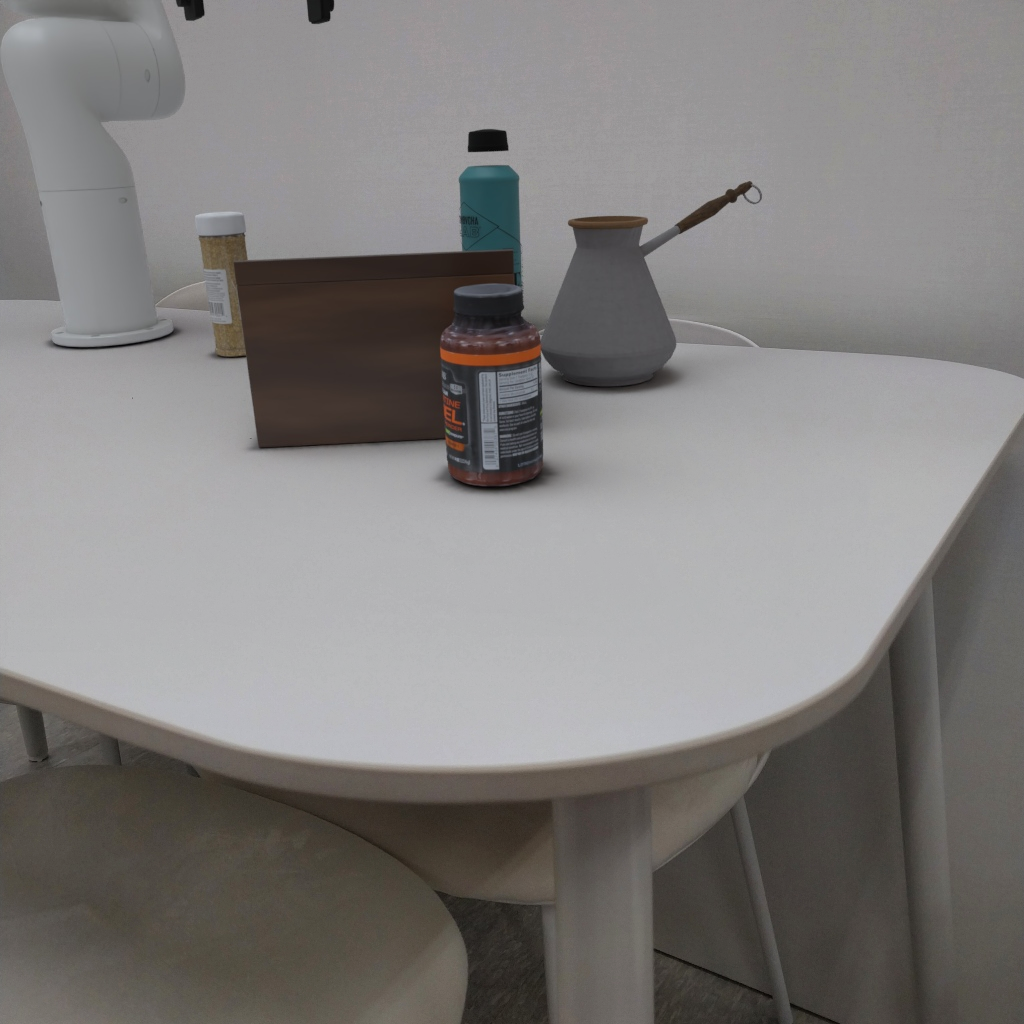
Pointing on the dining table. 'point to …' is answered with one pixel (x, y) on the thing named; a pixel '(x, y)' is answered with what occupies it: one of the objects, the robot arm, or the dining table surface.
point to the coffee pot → (615, 301)
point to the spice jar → (223, 276)
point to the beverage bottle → (490, 201)
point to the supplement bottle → (492, 388)
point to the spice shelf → (353, 342)
